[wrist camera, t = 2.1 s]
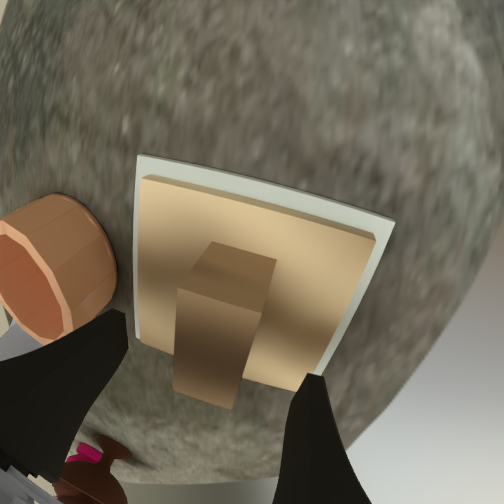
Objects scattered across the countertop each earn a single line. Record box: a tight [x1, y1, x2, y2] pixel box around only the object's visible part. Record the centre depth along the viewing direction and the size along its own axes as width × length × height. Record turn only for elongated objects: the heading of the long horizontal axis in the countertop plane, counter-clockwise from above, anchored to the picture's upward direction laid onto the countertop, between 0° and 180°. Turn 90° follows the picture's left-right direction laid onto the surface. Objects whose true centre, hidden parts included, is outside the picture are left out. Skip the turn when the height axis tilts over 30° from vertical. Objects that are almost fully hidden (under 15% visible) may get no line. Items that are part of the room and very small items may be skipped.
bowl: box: [0, 194, 118, 346], centre depth 15 cm, size 8×8×4 cm
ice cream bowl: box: [52, 435, 132, 504], centre depth 25 cm, size 11×11×15 cm
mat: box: [133, 154, 395, 376], centre depth 15 cm, size 12×12×1 cm
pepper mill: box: [53, 443, 103, 499], centre depth 29 cm, size 7×7×20 cm
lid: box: [138, 174, 376, 410], centre depth 13 cm, size 10×10×4 cm
